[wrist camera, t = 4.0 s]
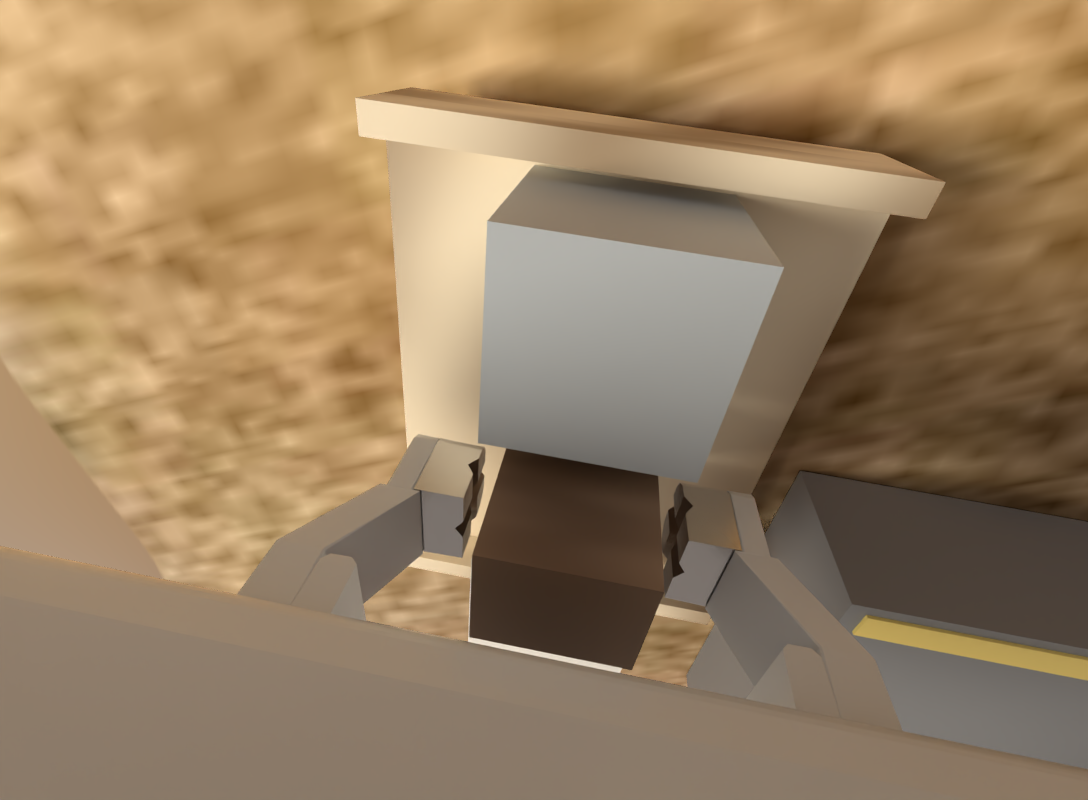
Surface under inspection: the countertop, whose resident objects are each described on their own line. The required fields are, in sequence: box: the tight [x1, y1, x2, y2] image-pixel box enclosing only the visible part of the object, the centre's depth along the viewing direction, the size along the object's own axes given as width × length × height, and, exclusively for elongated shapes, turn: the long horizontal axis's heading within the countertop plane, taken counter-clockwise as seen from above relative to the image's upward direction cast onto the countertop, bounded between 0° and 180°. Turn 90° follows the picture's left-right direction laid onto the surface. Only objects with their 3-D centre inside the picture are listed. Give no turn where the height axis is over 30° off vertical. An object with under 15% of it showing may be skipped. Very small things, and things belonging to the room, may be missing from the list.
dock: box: [687, 471, 1088, 769], centre depth 19 cm, size 13×14×5 cm
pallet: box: [355, 88, 946, 670], centre depth 12 cm, size 10×13×9 cm
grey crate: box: [478, 165, 784, 483], centre depth 10 cm, size 4×4×4 cm
